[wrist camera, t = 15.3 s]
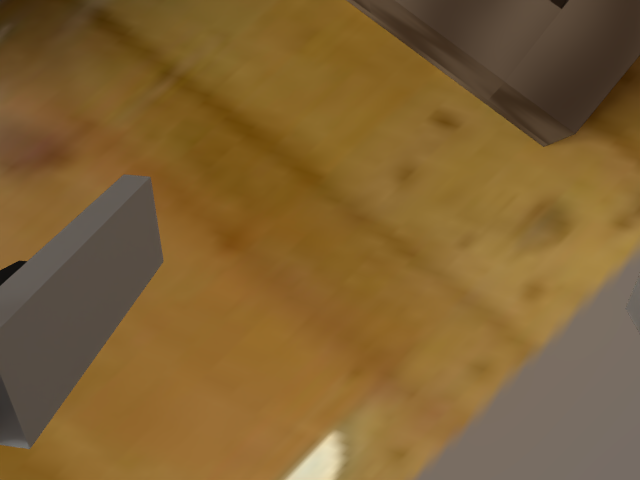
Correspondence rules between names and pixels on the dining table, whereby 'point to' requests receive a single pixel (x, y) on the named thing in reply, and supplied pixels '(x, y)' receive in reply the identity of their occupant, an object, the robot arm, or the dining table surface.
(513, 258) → the dining table surface
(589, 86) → the socket block
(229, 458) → the dining table surface
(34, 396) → the robot arm
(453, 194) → the dining table surface
